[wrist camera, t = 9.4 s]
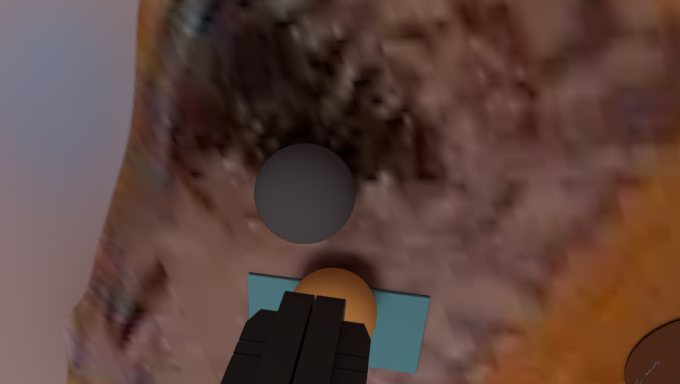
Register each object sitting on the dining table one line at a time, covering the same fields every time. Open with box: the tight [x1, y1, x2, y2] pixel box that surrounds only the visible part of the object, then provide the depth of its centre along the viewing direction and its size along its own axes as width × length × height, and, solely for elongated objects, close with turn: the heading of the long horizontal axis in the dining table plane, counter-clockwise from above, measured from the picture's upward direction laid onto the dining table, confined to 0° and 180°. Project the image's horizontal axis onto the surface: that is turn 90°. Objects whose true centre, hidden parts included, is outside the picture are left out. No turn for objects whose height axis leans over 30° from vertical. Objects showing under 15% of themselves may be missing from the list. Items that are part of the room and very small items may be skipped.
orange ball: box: [293, 268, 377, 337], centre depth 34 cm, size 6×6×6 cm
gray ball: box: [254, 143, 355, 244], centre depth 30 cm, size 6×6×6 cm
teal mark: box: [248, 273, 430, 374], centre depth 38 cm, size 12×7×1 cm, turn 86°
